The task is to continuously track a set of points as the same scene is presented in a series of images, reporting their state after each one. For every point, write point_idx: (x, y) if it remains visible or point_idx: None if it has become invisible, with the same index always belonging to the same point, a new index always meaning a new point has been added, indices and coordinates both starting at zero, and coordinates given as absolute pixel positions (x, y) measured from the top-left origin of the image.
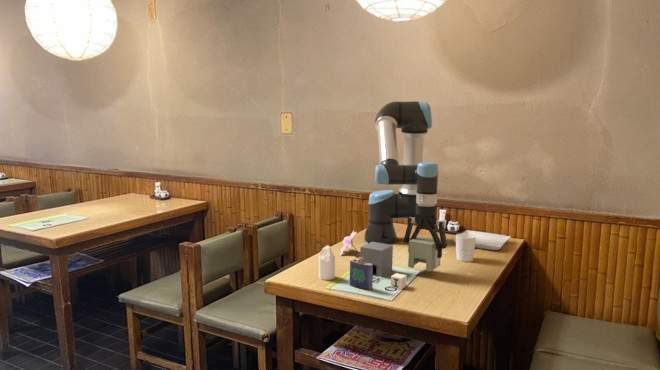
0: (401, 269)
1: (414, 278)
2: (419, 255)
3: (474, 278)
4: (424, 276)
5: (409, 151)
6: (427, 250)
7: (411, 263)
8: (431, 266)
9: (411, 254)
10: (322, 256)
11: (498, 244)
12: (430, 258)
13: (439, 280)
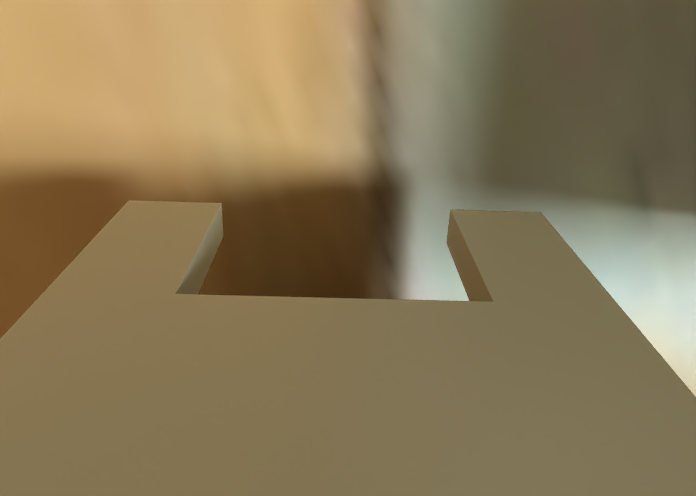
0: (641, 316)
1: (374, 71)
2: (347, 339)
3: None
4: (287, 222)
5: None
6: (54, 468)
7: (503, 240)
8: (98, 240)
9: (571, 341)
10: None
11: None
12: (50, 317)
13: (53, 178)
